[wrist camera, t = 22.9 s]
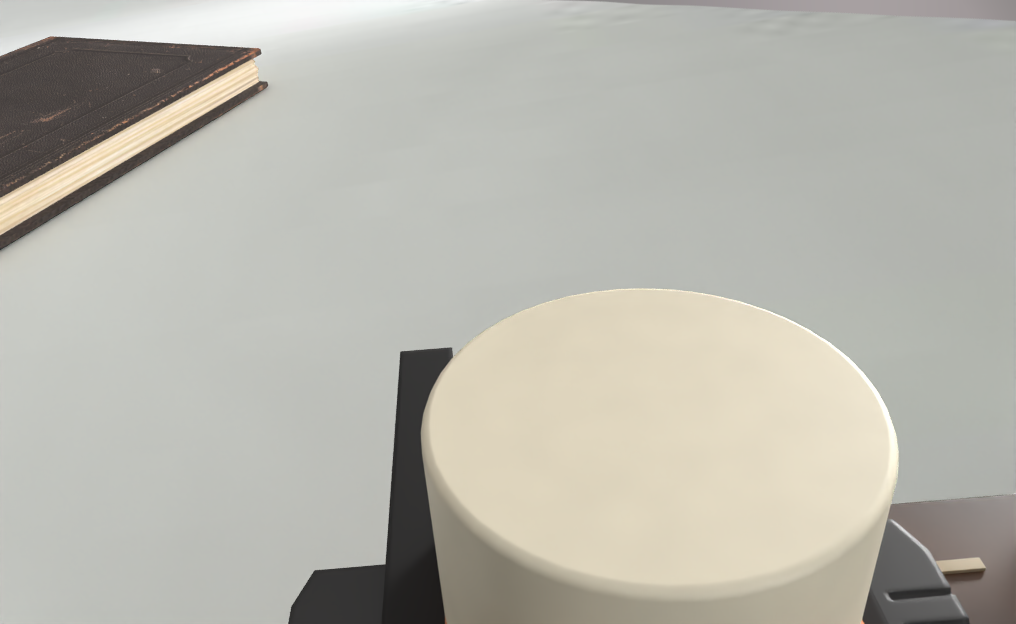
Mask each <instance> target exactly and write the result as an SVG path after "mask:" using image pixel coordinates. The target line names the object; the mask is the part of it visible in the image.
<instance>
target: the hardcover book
mask: <svg viewBox="0 0 1016 624" xmlns="http://www.w3.org/2000/svg"><path fill="white" fill-rule="evenodd" d="M260 54H261V49H259V48H243V47H225V46H208V45H191V44H173V43H156V42H138V41H121V40H104V39H86V38H69V37H48V38H45V39H43V40H40V41H38V42H35V43H33V44H30V45H28V46H25V47H22V48H20V49H17V50H15V51H12V52H10V53H7V54H5V55H2V56H0V249H2V248H4V247H5V246H7V245H9V244H10V243H12V242H14V241H15V240H17V239H19V238H20V237H22V236H23V235H25V234H27V233H28V232H30V231H32V230H33V229H35V228H37V227H38V226H40V225H41V224H43V223H45V222H46V221H48V220H50V219H51V218H53V217H55V216H56V215H58V214H60V213H61V212H63V211H64V210H66V209H68V208H69V207H71V206H73V205H74V204H76V203H78V202H79V201H81V200H83V199H84V198H86V197H87V196H89V195H91V194H92V193H94V192H96V191H97V190H99V189H101V188H102V187H104V186H106V185H107V184H109V183H110V182H112V181H114V180H115V179H117V178H119V177H120V176H122V175H124V174H125V173H127V172H128V171H130V170H132V169H133V168H135V167H137V166H138V165H140V164H142V163H143V162H145V161H147V160H148V159H150V158H151V157H153V156H155V155H156V154H158V153H160V152H161V151H163V150H165V149H166V148H168V147H170V146H171V145H173V144H174V143H176V142H178V141H179V140H181V139H183V138H184V137H186V136H188V135H189V134H191V133H193V132H194V131H196V130H197V129H199V128H201V127H202V126H204V125H206V124H207V123H209V122H211V121H212V120H214V119H215V118H217V117H219V116H220V115H222V114H224V113H225V112H227V111H229V110H230V109H232V108H234V107H235V106H237V105H238V104H240V103H242V102H243V101H245V100H247V99H248V98H250V97H252V96H253V95H255V94H257V93H258V92H260V91H261V90H263V89H265V88H266V87H267V86H268V83H267V82H262V81H259V79H258V78H259V77H258V76H257V73H258V67H257V66H256V65H255V64H254V63H255V61H254V60H253V58H255V57H257V56H259V55H260Z"/></svg>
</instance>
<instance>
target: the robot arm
mask: <svg viewBox="0 0 1016 624" xmlns="http://www.w3.org/2000/svg"><path fill="white" fill-rule="evenodd" d="M452 358H453V353H452V348H439V349H427V350H414V351H402V352H400V366H399V380H398V395H397V409H396V423H395V438H394V452H393V466H392V481H391V495H390V509H389V524H388V538H387V552H386V565H374V566H362V567H350V568H338V569H327V570H315V571H314V572H313V574H312V575H311V577H310V578H309V580H308V582H307V583H306V585H305V586H304V588H303V589H302V591H301V592H300V594H299V596H298V597H297V599H296V600H295V602H294V603H293V605H292V607H291V612H290V618H289V623H288V624H445V612H444V605H443V598H442V591H441V584H440V577H439V569H438V562H437V555H436V548H435V541H434V534H433V527H432V520H431V513H430V506H429V499H428V492H427V485H426V478H425V471H424V464H423V457H422V445H421V427H422V419H423V413H424V410H425V407H426V404H427V401H428V398H429V395H430V392H431V390H432V388H433V386H434V384H435V383H436V381H437V379H438V377H439V375H440V373H441V372H442V371H443V369H444V368H445V367H446V365H447V364H448V363H449V362H450V360H451V359H452ZM862 620H863V622H864V624H970V623H969V617H968V615H967V614H966V612H965V610H964V609H963V607H962V605H961V604H960V602H959V600H958V598H957V597H956V595H952V593H951V587H950V585H949V583H948V582H947V580H946V578H945V577H944V575H943V573H942V572H941V570H940V568H939V566H938V565H937V563H936V561H935V560H934V558H933V556H932V555H931V553H930V551H929V550H928V549H927V548H926V547H925V546H923V545H922V544H921V543H920V542H919V541H918V540H917V539H915V538H914V537H913V536H912V535H911V534H910V533H908V532H907V531H906V530H905V529H904V528H903V527H901V526H900V525H899V524H898V523H897V522H896V521H894V520H893V519H889V520H887V522H886V526H885V530H884V534H883V538H882V542H881V546H880V550H879V554H878V558H877V561H876V565H875V569H874V573H873V577H872V581H871V585H870V589H869V593H868V597H867V601H866V605H865V609H864V613H863V617H862Z"/></svg>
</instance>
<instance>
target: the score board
mask: <svg viewBox="0 0 1016 624" xmlns="http://www.w3.org/2000/svg"><path fill="white" fill-rule="evenodd" d="M889 519H893V520H894V521H896V522H897V523H898V524H899V525H900V526H901V527H903V528H904V529H905V530H906V531H907V532H908V533H910V534H911V535H912V536H913V537H914V538H915V539H917V540H918V541H919V542H920V543H921V544H922V545H923V546H925V547H926V548H927V549H928V550H929V551H930V553H931V555H932V556H933V558H934V560H935V561H936V563H937V565H938V566H939V568H940V570H941V572H942V573H943V575H944V577H945V578H946V580H947V582H948V583H949V585H950V587H951V593H952V595H956V597H957V598H958V600H959V602H960V604H961V605H962V607H963V609H964V610H965V612H966V614H967V615H968V617H969V623H970V624H1016V494H1009V495H997V496H984V497H972V498H960V499H948V500H936V501H924V502H912V503H900V504H891V506H890V510H889V514H888V518H887V520H889Z"/></svg>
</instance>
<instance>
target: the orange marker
mask: <svg viewBox="0 0 1016 624" xmlns="http://www.w3.org/2000/svg"><path fill="white" fill-rule="evenodd" d="M421 445H422V457H423V464H424V471H425V478H426V485H427V492H428V499H429V506H430V513H431V520H432V527H433V534H434V541H435V548H436V555H437V562H438V569H439V577H440V584H441V591H442V598H443V605H444V612H445V624H864V622H863V620H862V617H863V613H864V609H865V605H866V601H867V597H868V593H869V589H870V585H871V581H872V577H873V573H874V569H875V565H876V561H877V558H878V554H879V550H880V546H881V542H882V538H883V534H884V530H885V526H886V522H887V518H888V514H889V510H890V506H891V502H892V498H893V494H894V490H895V486H896V482H897V476H898V464H899V453H898V445H897V437H896V433H895V430H894V427H893V424H892V421H891V418H890V415H889V413H888V410H887V408H886V406H885V404H884V402H883V400H882V399H881V397H880V395H879V393H878V391H877V390H876V389H875V387H874V386H873V385H872V383H871V382H870V381H869V379H868V378H867V377H866V376H865V374H864V373H863V372H862V371H861V370H860V369H859V368H858V367H857V366H856V365H855V364H854V363H853V362H852V361H851V360H850V359H849V358H848V357H847V356H846V355H844V354H843V353H842V352H840V351H839V350H838V349H837V348H835V347H834V346H833V345H831V344H830V343H829V342H827V341H826V340H824V339H823V338H821V337H819V336H818V335H816V334H815V333H813V332H811V331H810V330H808V329H806V328H804V327H802V326H800V325H798V324H796V323H794V322H793V321H791V320H789V319H787V318H784V317H782V316H779V315H777V314H774V313H772V312H769V311H767V310H764V309H762V308H758V307H755V306H752V305H749V304H746V303H743V302H739V301H735V300H731V299H727V298H723V297H719V296H714V295H708V294H702V293H696V292H690V291H679V290H669V289H642V288H638V289H615V290H606V291H597V292H589V293H584V294H578V295H573V296H568V297H564V298H560V299H556V300H553V301H549V302H545V303H542V304H539V305H537V306H534V307H531V308H528V309H525V310H523V311H520V312H518V313H516V314H514V315H512V316H510V317H508V318H505V319H503V320H501V321H500V322H498V323H496V324H495V325H493V326H491V327H490V328H488V329H486V330H484V331H483V332H482V333H480V334H479V335H478V336H476V337H475V338H474V339H472V340H471V341H470V342H468V343H467V344H466V345H465V346H464V347H463V348H462V349H461V350H460V351H459V352H458V353H457V354H456V355H455V356H454V357H453V358H452V359H451V360H450V362H449V363H448V364H447V365H446V367H445V368H444V369H443V371H442V372H441V373H440V375H439V377H438V379H437V381H436V383H435V384H434V386H433V388H432V390H431V392H430V395H429V398H428V401H427V404H426V407H425V410H424V413H423V419H422V427H421Z"/></svg>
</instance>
